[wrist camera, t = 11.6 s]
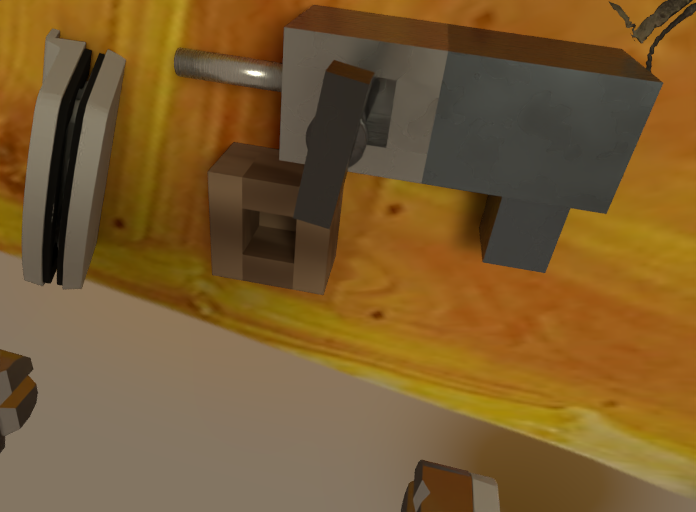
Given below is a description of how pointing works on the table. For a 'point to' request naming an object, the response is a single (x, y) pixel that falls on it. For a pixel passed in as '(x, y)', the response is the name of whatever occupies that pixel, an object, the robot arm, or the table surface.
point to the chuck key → (335, 140)
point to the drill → (466, 114)
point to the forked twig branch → (657, 21)
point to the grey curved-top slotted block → (68, 161)
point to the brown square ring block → (266, 223)
